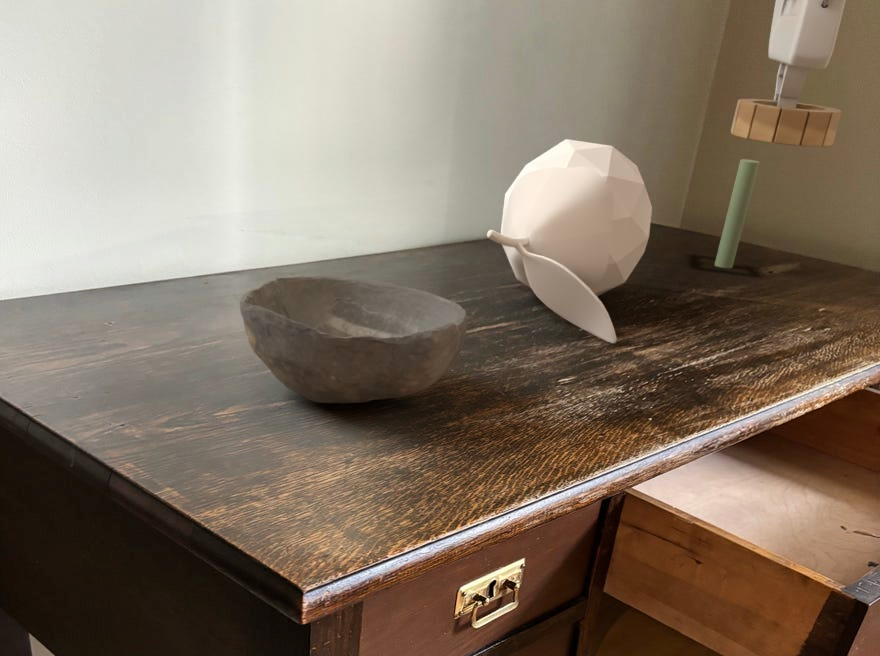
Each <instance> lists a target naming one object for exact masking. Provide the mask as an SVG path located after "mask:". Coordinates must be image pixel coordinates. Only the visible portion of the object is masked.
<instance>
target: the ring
mask: <svg viewBox="0 0 880 656" xmlns="http://www.w3.org/2000/svg"><path fill="white" fill-rule="evenodd" d="M776 103H777V101H776V100H774V99H762V98H761V99H760V98H739V99H737V103H736V106H735V111H734V116H733V119H732V123H731V127H730V134H731V136H734V137H738V138H742V139H745V140H751V141H757V142H764V143H769V144H777V145H787V146H795V147H798V146H799V147H813V148H814V147H816V148H817V147H818V148H824V147H832V146H833V145H834V143H835V138H836V135H837V132H838V128H839V125H840V121H841V118H842V115H843V111H842V110H840V109H839V108H836V107H830V106H824V105H820V104H819V105H818V104H811V103H802V102H797V105H796V108H785V107H778V106H776Z"/></svg>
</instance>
